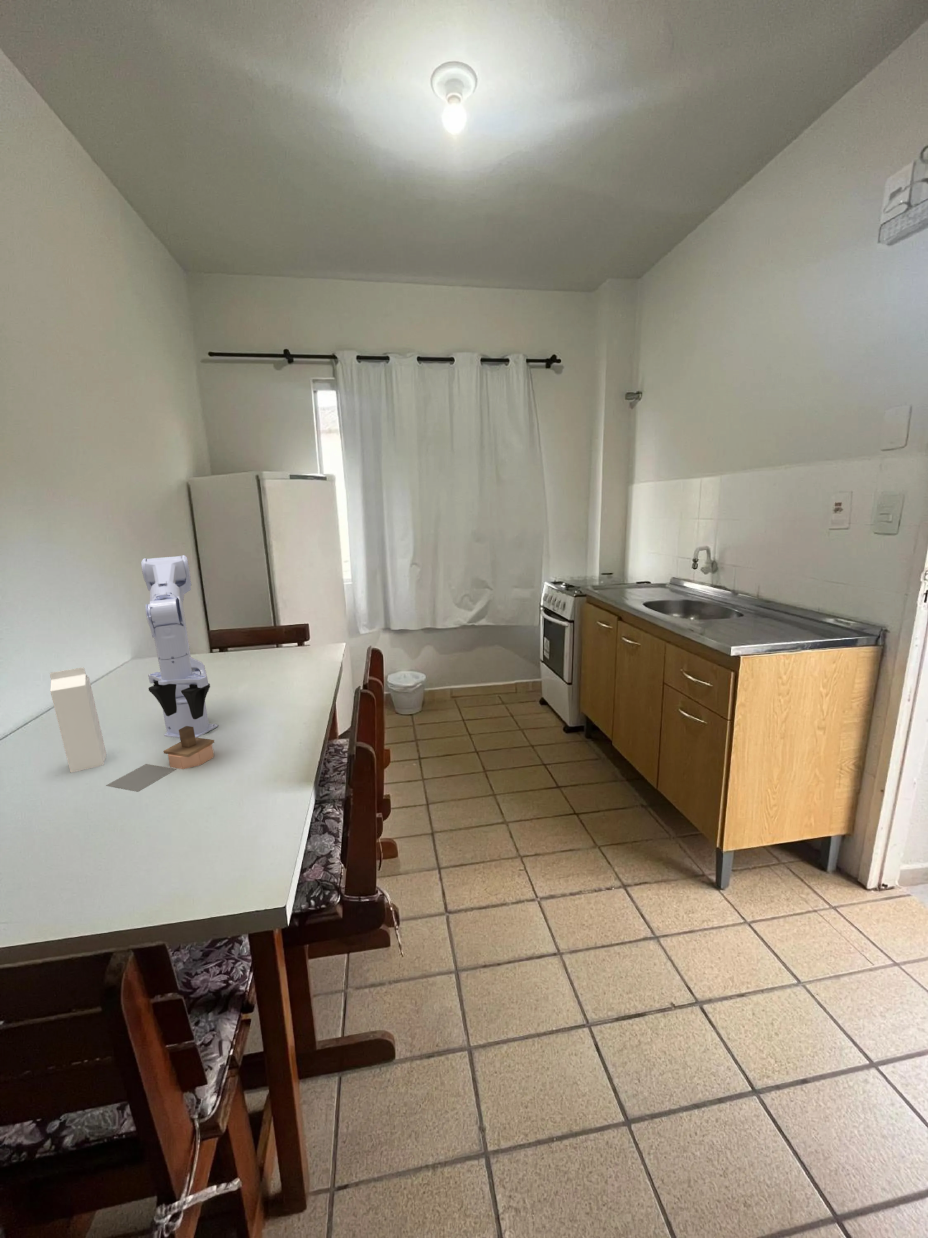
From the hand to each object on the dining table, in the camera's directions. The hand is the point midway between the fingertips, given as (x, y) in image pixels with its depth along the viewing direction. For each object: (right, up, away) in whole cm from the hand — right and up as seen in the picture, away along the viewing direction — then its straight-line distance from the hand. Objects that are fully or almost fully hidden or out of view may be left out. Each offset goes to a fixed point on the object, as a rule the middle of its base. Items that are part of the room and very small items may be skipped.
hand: (184, 715), depth 110 cm
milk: (-23, -11, +3) cm, 26 cm away
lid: (0, -7, +1) cm, 7 cm away
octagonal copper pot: (+1, -10, +2) cm, 10 cm away
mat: (-6, -12, -5) cm, 14 cm away
